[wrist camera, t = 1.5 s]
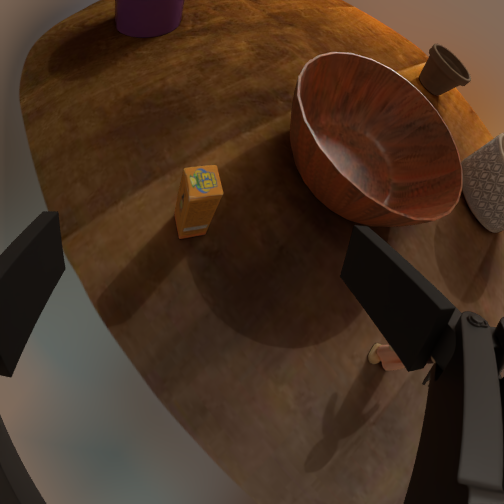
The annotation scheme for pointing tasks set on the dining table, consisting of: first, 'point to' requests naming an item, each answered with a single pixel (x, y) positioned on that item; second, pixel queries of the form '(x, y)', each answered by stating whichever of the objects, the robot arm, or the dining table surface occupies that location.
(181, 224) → the supplement box
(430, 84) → the flower pot
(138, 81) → the dining table surface
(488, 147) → the planter
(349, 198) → the bowl
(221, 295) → the dining table surface
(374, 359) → the grandmother figurine
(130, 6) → the jar
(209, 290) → the dining table surface
